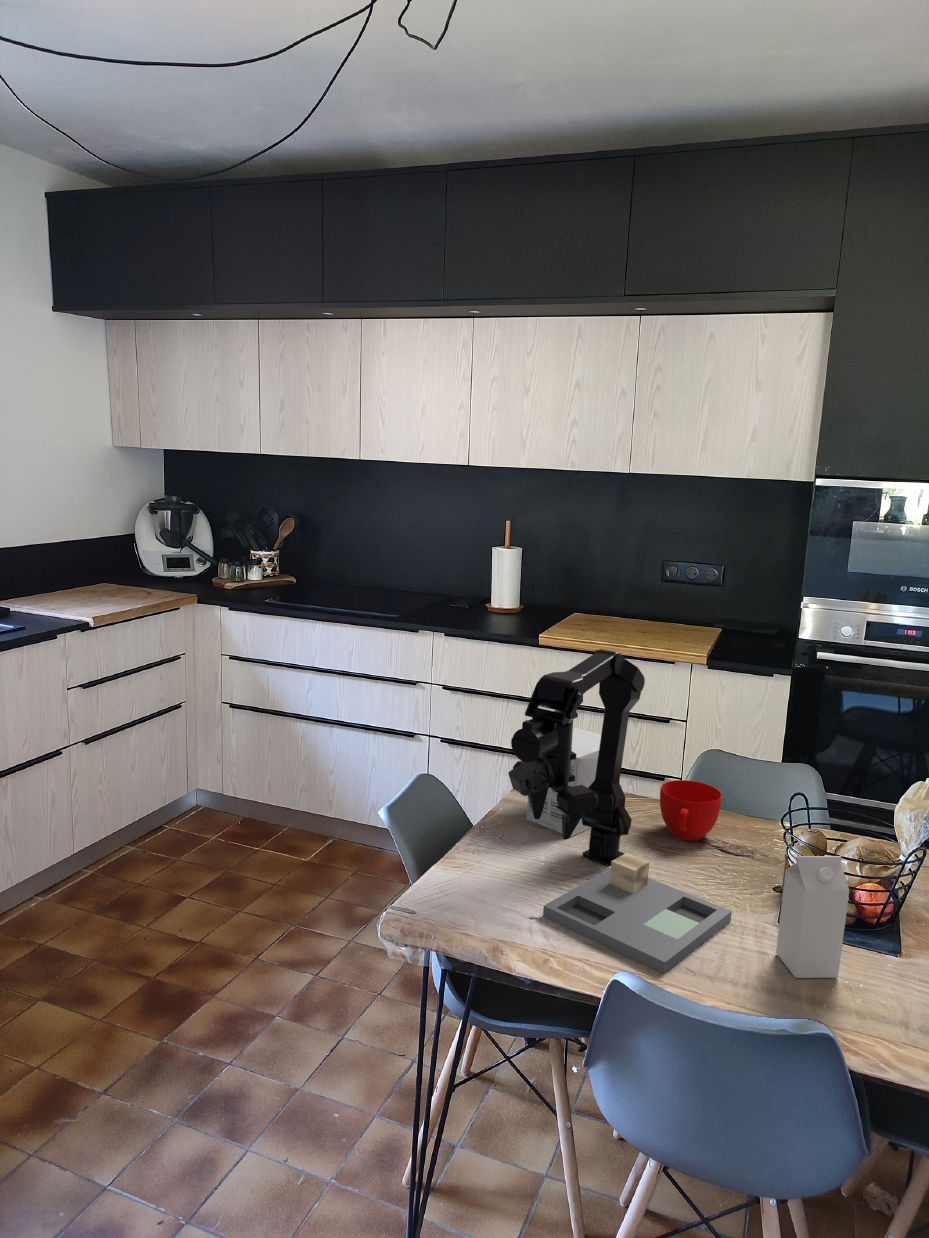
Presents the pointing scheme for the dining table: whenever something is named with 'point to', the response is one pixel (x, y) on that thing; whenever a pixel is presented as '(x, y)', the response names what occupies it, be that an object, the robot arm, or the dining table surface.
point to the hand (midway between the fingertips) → (551, 828)
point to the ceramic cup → (689, 808)
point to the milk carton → (813, 917)
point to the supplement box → (584, 773)
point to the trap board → (639, 919)
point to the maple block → (629, 873)
